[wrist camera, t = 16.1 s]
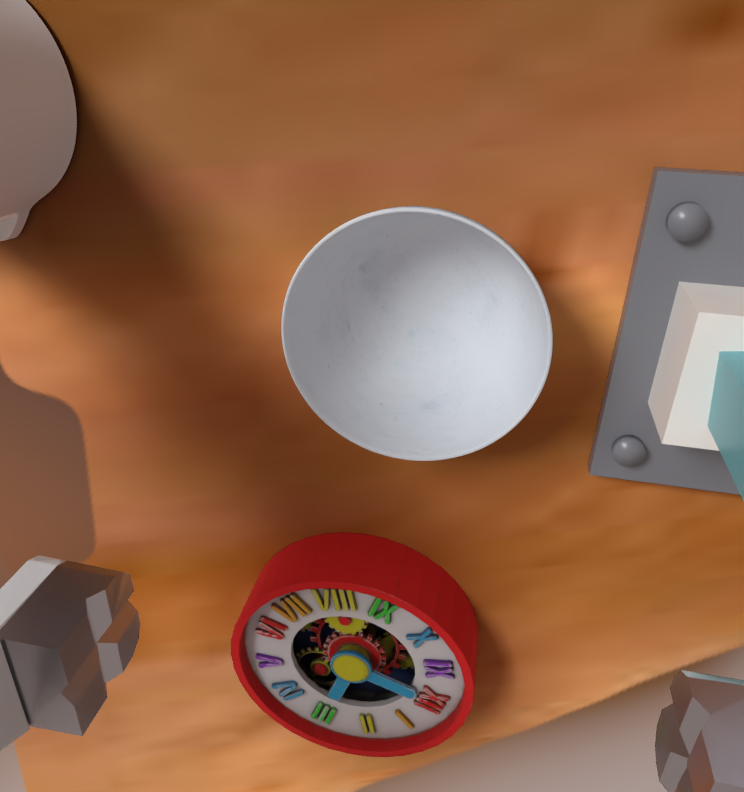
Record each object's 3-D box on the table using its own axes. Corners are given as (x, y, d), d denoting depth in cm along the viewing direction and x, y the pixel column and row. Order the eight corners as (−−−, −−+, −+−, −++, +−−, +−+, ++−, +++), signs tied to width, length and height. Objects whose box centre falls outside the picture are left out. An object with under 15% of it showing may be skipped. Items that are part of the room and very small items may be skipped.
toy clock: (269, 541, 48) (520, 651, 49) (293, 493, 53) (520, 594, 54) (206, 696, 58) (414, 787, 59) (231, 643, 63) (422, 727, 64)
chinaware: (461, 126, 38) (448, 144, 31) (592, 332, 42) (606, 387, 35) (272, 267, 44) (228, 308, 38) (402, 435, 48) (383, 498, 42)
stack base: (588, 464, 47) (596, 520, 41) (654, 166, 37) (676, 188, 32) (788, 491, 45) (824, 553, 39) (913, 183, 35) (984, 209, 30)
